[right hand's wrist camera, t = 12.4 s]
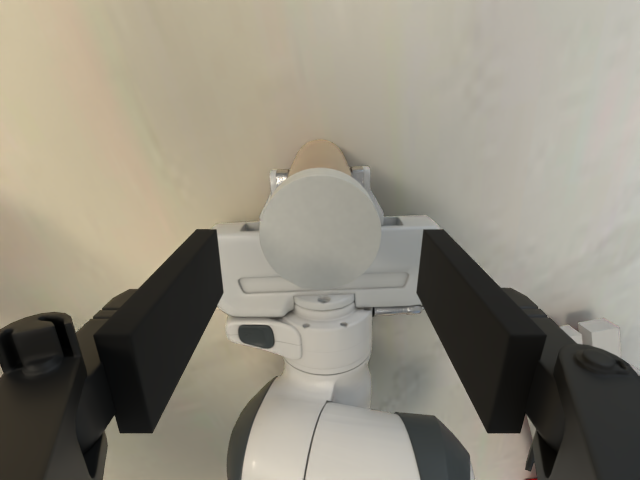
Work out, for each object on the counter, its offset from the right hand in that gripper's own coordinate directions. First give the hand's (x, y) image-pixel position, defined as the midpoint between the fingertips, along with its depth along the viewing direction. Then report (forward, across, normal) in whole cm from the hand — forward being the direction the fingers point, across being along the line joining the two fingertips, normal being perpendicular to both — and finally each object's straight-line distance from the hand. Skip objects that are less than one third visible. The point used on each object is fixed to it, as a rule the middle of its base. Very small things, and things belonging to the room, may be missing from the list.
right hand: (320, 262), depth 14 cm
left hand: (+16, 0, -1) cm, 16 cm away
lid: (+3, 0, 0) cm, 3 cm away
